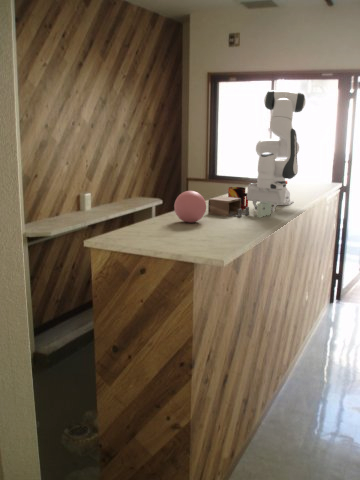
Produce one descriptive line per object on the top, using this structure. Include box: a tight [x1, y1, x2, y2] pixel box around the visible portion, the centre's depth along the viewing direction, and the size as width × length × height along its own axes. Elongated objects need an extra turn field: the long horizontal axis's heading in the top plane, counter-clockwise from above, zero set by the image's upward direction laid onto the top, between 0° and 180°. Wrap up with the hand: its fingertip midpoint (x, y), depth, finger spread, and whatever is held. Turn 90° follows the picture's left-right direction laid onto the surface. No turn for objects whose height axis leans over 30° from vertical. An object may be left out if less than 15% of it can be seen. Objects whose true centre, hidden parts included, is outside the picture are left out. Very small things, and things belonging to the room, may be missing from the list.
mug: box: [227, 186, 249, 211], centre depth 278 cm, size 10×14×12 cm
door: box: [256, 202, 273, 218], centre depth 258 cm, size 12×3×7 cm, turn 144°
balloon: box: [173, 190, 207, 224], centre depth 238 cm, size 15×20×15 cm
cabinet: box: [207, 196, 250, 218], centre depth 262 cm, size 14×18×8 cm
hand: (264, 210), depth 258 cm, fingers open, 8 cm apart
